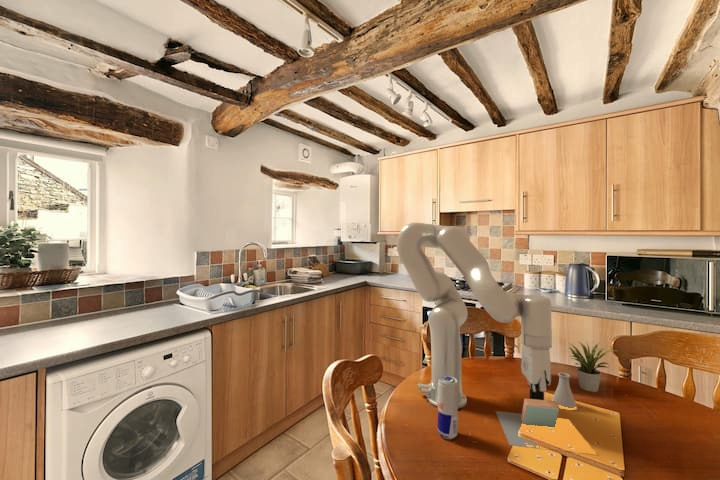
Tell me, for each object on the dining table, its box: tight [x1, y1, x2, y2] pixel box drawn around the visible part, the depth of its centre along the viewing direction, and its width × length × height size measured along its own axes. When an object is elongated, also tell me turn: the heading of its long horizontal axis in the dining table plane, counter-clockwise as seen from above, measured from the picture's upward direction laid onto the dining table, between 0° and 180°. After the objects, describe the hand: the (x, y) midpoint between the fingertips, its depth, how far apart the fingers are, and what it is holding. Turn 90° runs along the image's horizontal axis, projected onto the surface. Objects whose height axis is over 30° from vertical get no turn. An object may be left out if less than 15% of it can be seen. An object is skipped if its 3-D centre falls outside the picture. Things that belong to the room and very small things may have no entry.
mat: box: [495, 410, 540, 449], centre depth 85 cm, size 20×16×1 cm
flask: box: [551, 372, 578, 408], centre depth 98 cm, size 7×7×10 cm
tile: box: [521, 397, 560, 427], centre depth 86 cm, size 8×2×8 cm, turn 78°
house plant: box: [568, 340, 617, 393], centre depth 110 cm, size 14×14×16 cm
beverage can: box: [437, 376, 459, 440], centre depth 84 cm, size 5×5×15 cm
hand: (536, 404), depth 88 cm, fingers closed
